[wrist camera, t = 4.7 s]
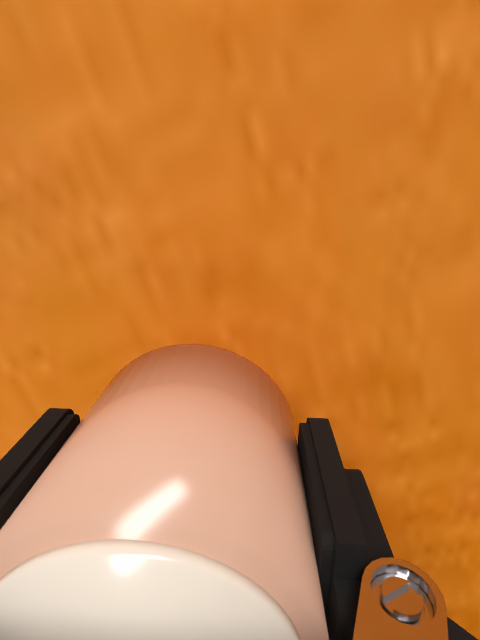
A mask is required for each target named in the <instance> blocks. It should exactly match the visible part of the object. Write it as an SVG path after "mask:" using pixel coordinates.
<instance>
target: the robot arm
mask: <svg viewBox="0 0 480 640" xmlns="http://www.w3.org/2000/svg"><path fill="white" fill-rule="evenodd" d="M79 424H80V417H79V415H77V414H74V412H73V410H71V409H59V408H50V409H48V410H47V411H46V412H45V413H44V414H43V415H42V416H41V417H40V419H39V420H38V421H37V422H36V423H35V424H34V425H33V426H32V427H31V428H30V429H29V430H28V431H27V432H26V434H25V435H24V436H23V437H22V438H21V439H20V440H19V441H18V442H17V443H16V444H15V445H14V446H13V447H12V448H11V450H10V451H9V452H8V453H7V454H6V455H5V456H4V457H3V458H2V459H1V460H0V530H1V529H2V527H3V526H4V525H5V523H6V522H7V520H8V519H9V518H10V516H11V515H12V514H13V512H14V511H15V510H16V508H17V507H18V506H19V504H20V503H21V502H22V500H23V499H24V498H25V496H26V495H27V494H28V492H29V491H30V490H31V488H32V487H33V485H34V484H35V483H36V481H37V480H38V479H39V477H40V476H41V475H42V473H43V472H44V471H45V469H46V468H47V467H48V465H49V464H50V463H51V461H52V460H53V459H54V457H55V456H56V455H57V453H58V452H59V451H60V449H61V448H62V446H63V445H64V444H65V442H66V441H67V440H68V438H69V437H70V436H71V434H72V433H73V432H74V430H75V429H76V428H77V426H78V425H79ZM298 453H299V459H300V465H301V471H302V477H303V483H304V489H305V496H306V502H307V508H308V514H309V520H310V526H311V532H312V538H313V544H314V551H315V557H316V563H317V569H318V575H319V581H320V587H321V593H322V599H323V606H324V612H325V618H326V624H327V630H328V636H329V640H478V639H476V638H475V637H474V636H472V635H471V634H470V633H468V632H467V631H466V630H464V629H463V628H462V627H460V626H459V625H458V624H456V623H455V622H454V621H452V620H451V619H449V618H448V617H447V610H446V605H445V601H444V597H443V595H442V593H441V592H440V590H439V588H438V586H437V585H436V583H435V582H434V581H433V580H432V579H431V578H430V577H429V576H428V574H426V573H425V572H424V571H422V570H421V569H420V568H418V567H417V566H415V565H413V564H411V563H409V562H407V561H405V560H401V559H397V558H394V556H393V554H392V551H391V548H390V546H389V543H388V540H387V538H386V535H385V532H384V530H383V527H382V524H381V522H380V519H379V516H378V514H377V511H376V508H375V506H374V503H373V500H372V498H371V495H370V492H369V490H368V487H367V484H366V482H365V479H364V476H363V474H362V472H361V471H360V470H358V469H344V467H343V464H342V461H341V458H340V454H339V451H338V448H337V445H336V442H335V439H334V435H333V432H332V429H331V426H330V423H329V420H328V419H324V418H307V422H306V423H300V425H299V435H298Z"/></svg>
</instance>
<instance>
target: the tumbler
mask: <svg viewBox="0 0 480 640" xmlns="http://www.w3.org/2000/svg"><path fill="white" fill-rule="evenodd" d="M0 640H329V636H328V630H327V624H326V618H325V612H324V606H323V599H322V593H321V587H320V581H319V575H318V569H317V563H316V557H315V551H314V544H313V538H312V532H311V526H310V520H309V514H308V508H307V502H306V496H305V489H304V483H303V477H302V471H301V465H300V459H299V453H298V447H297V441H296V434H295V428H294V422H293V417H292V413H291V410H290V407H289V404H288V402H287V400H286V398H285V396H284V394H283V393H282V391H281V390H280V388H279V387H278V385H277V384H276V383H275V382H274V381H273V380H272V379H271V377H270V376H269V375H268V374H267V373H265V372H264V371H263V370H262V369H261V368H260V367H258V366H257V365H255V364H254V363H252V362H251V361H249V360H248V359H246V358H244V357H242V356H240V355H238V354H236V353H233V352H230V351H228V350H225V349H222V348H217V347H213V346H208V345H199V344H179V345H173V346H166V347H163V348H159V349H156V350H153V351H150V352H148V353H146V354H143V355H141V356H139V357H138V358H136V359H135V360H133V361H131V362H130V363H129V364H127V365H126V366H125V367H124V368H123V369H121V370H120V371H119V373H118V374H117V375H116V376H115V377H114V378H113V379H112V381H111V382H110V383H109V385H108V386H107V387H106V389H105V390H104V391H103V393H102V394H101V395H100V397H99V398H98V399H97V401H96V402H95V403H94V405H93V406H92V407H91V409H90V410H89V412H88V413H87V414H86V416H85V417H84V418H83V420H82V421H81V422H80V424H79V425H78V426H77V428H76V429H75V430H74V432H73V433H72V434H71V436H70V437H69V438H68V440H67V441H66V442H65V444H64V445H63V446H62V448H61V449H60V451H59V452H58V453H57V455H56V456H55V457H54V459H53V460H52V461H51V463H50V464H49V465H48V467H47V468H46V469H45V471H44V472H43V473H42V475H41V476H40V477H39V479H38V480H37V481H36V483H35V484H34V485H33V487H32V488H31V490H30V491H29V492H28V494H27V495H26V496H25V498H24V499H23V500H22V502H21V503H20V504H19V506H18V507H17V508H16V510H15V511H14V512H13V514H12V515H11V516H10V518H9V519H8V520H7V522H6V523H5V525H4V526H3V527H2V529H1V530H0Z"/></svg>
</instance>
